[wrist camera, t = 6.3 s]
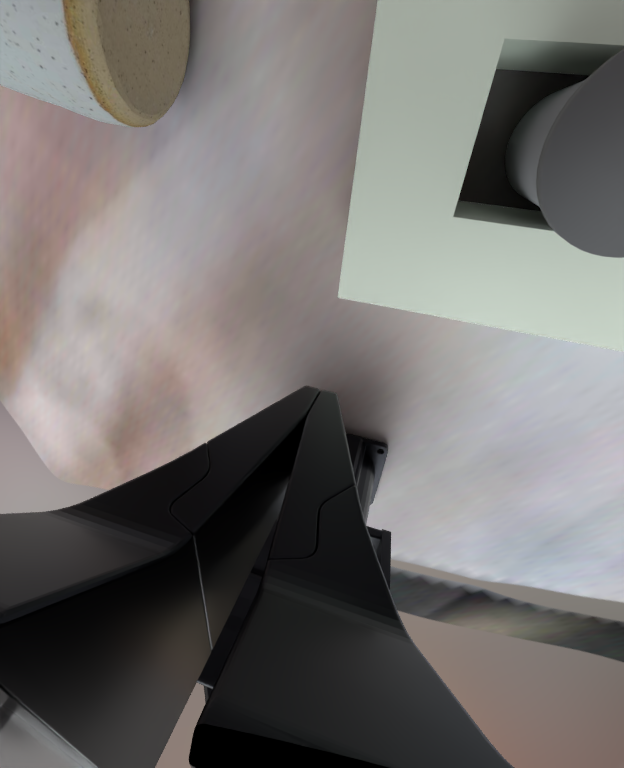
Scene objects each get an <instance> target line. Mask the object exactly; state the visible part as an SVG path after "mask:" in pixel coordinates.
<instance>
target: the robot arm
mask: <svg viewBox="0 0 624 768" xmlns="http://www.w3.org/2000/svg"><path fill="white" fill-rule="evenodd" d="M379 449H382V450H379ZM387 453H388V446H387V445H386V444H385V443H382V442H378V441H374V440H370V439H366V438H363V437H359V436H355V435H351V434H347V433H345V428H344V424H343V419H342V414H341V409H340V404H339V399H338V395H337V394H336V393H334V392H330V391H326V390H322V391H320V389H318V388H314V387H310V386H304V387H302V388H301V389H299V390H297V391H295V392H294V393H292V394H290V395H288V396H287V397H285V398H283V399H281V400H280V401H278V402H276V403H274V404H273V405H271V406H269V407H267V408H265V409H264V410H262V411H260V412H258V413H257V414H255V415H253V416H251V417H250V418H248V419H246V420H244V421H243V422H241V423H239V424H237V425H236V426H234V427H232V428H230V429H229V430H227V431H225V432H223V433H222V434H220V435H218V436H216V437H215V438H213V439H211V440H209V441H208V442H207V443H204V444H202V445H200V446H199V447H197V448H195V449H193V450H192V451H190V452H188V453H186V454H184V455H182V456H180V457H179V458H177V459H175V460H173V461H171V462H169V463H167V464H165V465H163V466H161V467H159V468H156V469H154V470H152V471H150V472H148V473H146V474H144V475H142V476H139V477H137V478H135V479H133V480H131V481H128V482H126V483H124V484H122V485H120V486H117V487H115V488H113V489H111V490H109V491H107V492H104V493H102V494H100V495H98V496H95V497H93V498H91V499H89V500H86V501H84V502H82V503H79V504H76V505H73V506H70V507H66V508H62V509H58V510H53V511H46V512H32V513H12V514H0V768H155V766H156V764H157V762H158V760H159V758H160V756H161V754H162V752H163V750H164V748H165V746H166V744H167V742H168V739H169V738H170V736H171V733H172V732H173V729H174V727H175V725H176V723H177V721H178V719H179V717H180V715H181V713H182V711H183V709H184V707H185V705H186V703H187V701H188V699H189V696H190V695H191V692H192V691H193V689H194V687H195V684H196V683H199V684H201V685H204V692H205V701H206V704H205V706H204V709H203V711H202V713H201V715H200V718H199V720H198V722H197V725H196V727H195V730H194V733H193V738H192V744H191V749H190V754H189V763H190V765H191V768H514V767H513V766H512V765H510V763H508V762H507V761H506V760H505V759H504V758H503V757H502V755H501V754H500V753H499V752H498V751H497V750H496V748H495V747H494V746H493V745H492V744H491V743H490V741H489V740H488V739H487V738H486V736H485V735H484V734H483V732H482V731H481V730H480V728H479V727H478V726H477V725H476V723H475V722H474V721H473V719H472V718H471V717H470V715H469V714H468V713H467V712H466V710H465V709H464V708H463V707H462V705H461V704H460V702H459V701H458V700H457V699H456V697H455V696H454V695H453V693H452V692H451V691H450V689H449V688H448V687H447V686H446V684H445V683H444V682H443V680H442V679H441V678H440V676H439V675H438V674H437V673H436V671H435V670H434V669H433V667H432V666H431V665H430V663H429V662H428V661H427V660H426V658H425V657H424V656H423V654H422V653H421V652H420V650H419V649H418V648H417V646H416V645H415V644H414V642H413V641H412V639H411V637H410V636H409V634H408V633H407V631H406V629H405V627H404V625H403V623H402V621H401V619H400V616H399V614H398V611H397V609H396V606H395V604H394V601H393V599H392V596H391V593H390V560H391V532H390V531H387V530H383V529H382V531H381V530H378V529H375V528H372V527H368V526H366V523H367V517H368V512H369V506H370V505H371V504H372V503H373V501H374V497H375V494H376V491H377V487H378V484H379V480H380V477H381V474H382V470H383V467H384V464H385V460H386V457H387Z"/></svg>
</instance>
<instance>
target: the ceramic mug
mask: <svg viewBox="0 0 624 768" xmlns="http://www.w3.org/2000/svg"><path fill="white" fill-rule="evenodd" d="M189 44H190V7H189V0H0V85H1V86H4V87H7V88H9V89H12V90H15V91H17V92H20V93H22V94H25V95H28V96H31V97H34V98H36V99H39V100H42V101H45V102H48V103H51V104H55V105H58V106H61V107H63V108H66V109H68V110H71V111H73V112H76V113H78V114H81V115H83V116H86V117H88V118H91V119H94V120H97V121H101V122H105V123H109V124H115V125H121V126H125V127H146V126H149V125H151V124H154V123H155V122H156V121H157V120H159V119H160V118H161V117H162V116H164V114H165V113H166V112H167V111H168V110H169V108H170V107H171V106H172V104H173V103H174V101H175V99H176V97H177V95H178V93H179V90H180V88H181V85H182V83H183V80H184V76H185V71H186V66H187V60H188V55H189Z"/></svg>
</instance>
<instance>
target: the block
mask: <svg viewBox="0 0 624 768" xmlns="http://www.w3.org/2000/svg"><path fill="white" fill-rule="evenodd" d="M623 49H624V0H378V1H377V8H376V16H375V23H374V31H373V38H372V45H371V53H370V60H369V68H368V75H367V83H366V90H365V97H364V105H363V112H362V120H361V127H360V135H359V142H358V149H357V157H356V164H355V172H354V179H353V187H352V194H351V201H350V209H349V216H348V224H347V231H346V239H345V246H344V253H343V261H342V268H341V276H340V283H339V291H338V298H342V299H347V300H353V301H358V302H363V303H369V304H374V305H379V306H384V307H390V308H395V309H400V310H405V311H411V312H416V313H421V314H427V315H432V316H437V317H442V318H448V319H453V320H458V321H463V322H469V323H474V324H479V325H484V326H490V327H495V328H500V329H506V330H511V331H516V332H521V333H527V334H532V335H537V336H542V337H548V338H553V339H558V340H564V341H569V342H574V343H579V344H585V345H590V346H595V347H600V348H606V349H611V350H616V351H622V352H624V258H614V257H603V256H599V255H594V254H590V253H588V252H585V251H582V250H580V249H578V248H576V247H575V246H573V245H571V244H570V243H568V242H567V241H566V240H564V239H563V238H562V237H561V236H559V235H558V234H557V233H556V232H555V231H554V230H553V229H552V228H551V227H550V226H549V224H548V223H547V221H546V219H545V218H544V216H543V214H542V211H534V210H527V209H519V208H512V207H504V206H497V205H489V204H482V203H474V202H467V201H459V200H458V198H459V195H460V191H461V188H462V184H463V181H464V178H465V174H466V171H467V167H468V164H469V160H470V157H471V153H472V150H473V146H474V143H475V140H476V136H477V133H478V129H479V126H480V122H481V119H482V115H483V112H484V108H485V105H486V102H487V98H488V95H489V91H490V88H491V84H492V81H493V77H494V74H495V70H496V69H504V70H519V71H533V72H547V73H561V74H575V75H591V74H592V73H593V72H594V71H595V70H596V69H598V68H599V67H600V66H601V65H602V64H604V63H605V62H606V61H607V60H608V59H610V58H611V57H612V56H614V55H615V54H617V53H618V52H620V51H621V50H623Z"/></svg>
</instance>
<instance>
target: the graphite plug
mask: <svg viewBox="0 0 624 768" xmlns="http://www.w3.org/2000/svg"><path fill="white" fill-rule="evenodd" d="M505 171H506V175H507V178H508V181H509V183H510V184H511V186H512V188H513V189H514V190H515V191H516V192H517V193H518V194H520V195H521V196H523V197H524V198H526V199H527V200H529V201H531V202H532V203H534V204H536V205H537V206H539V207H540V209H541V211H542V214H543V216H544V218H545V219H546V221H547V223H548V224H549V226H550V227H551V228H552V229H553V230H554V231H555V232H556V233H557V234H558V235H559V236H561V237H562V238H563V239H564V240H566V241H567V242H568V243H570V244H571V245H573V246H575V247H576V248H578V249H580V250H582V251H585V252H588V253H590V254H594V255H599V256H603V257H614V258H624V49H623V50H621V51H620V52H618V53H617V54H615V55H614V56H612V57H611V58H610V59H608V60H607V61H606V62H605V63H604V64H602V65H601V66H600V67H599V68H598V69H596V70H595V71H594V72H593V73H592V74H591V75H590V76H589V77H588V78H587V79H586V80H583V81H581V82H579V83H576V84H574V85H571V86H569V87H567V88H564V89H562V90H559V91H557V92H554V93H552V94H550V95H549V96H547V97H545V98H543V99H542V100H541V101H539V102H538V103H537V104H535V105H534V106H533V107H532V108H531V109H530V110H529V111H528V112H527V113H526V114H525V115H524V116H523V118H522V119H521V120H520V121H519V123H518V124H517V126H516V128H515V129H514V131H513V133H512V135H511V137H510V140H509V142H508V146H507V149H506V155H505Z"/></svg>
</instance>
